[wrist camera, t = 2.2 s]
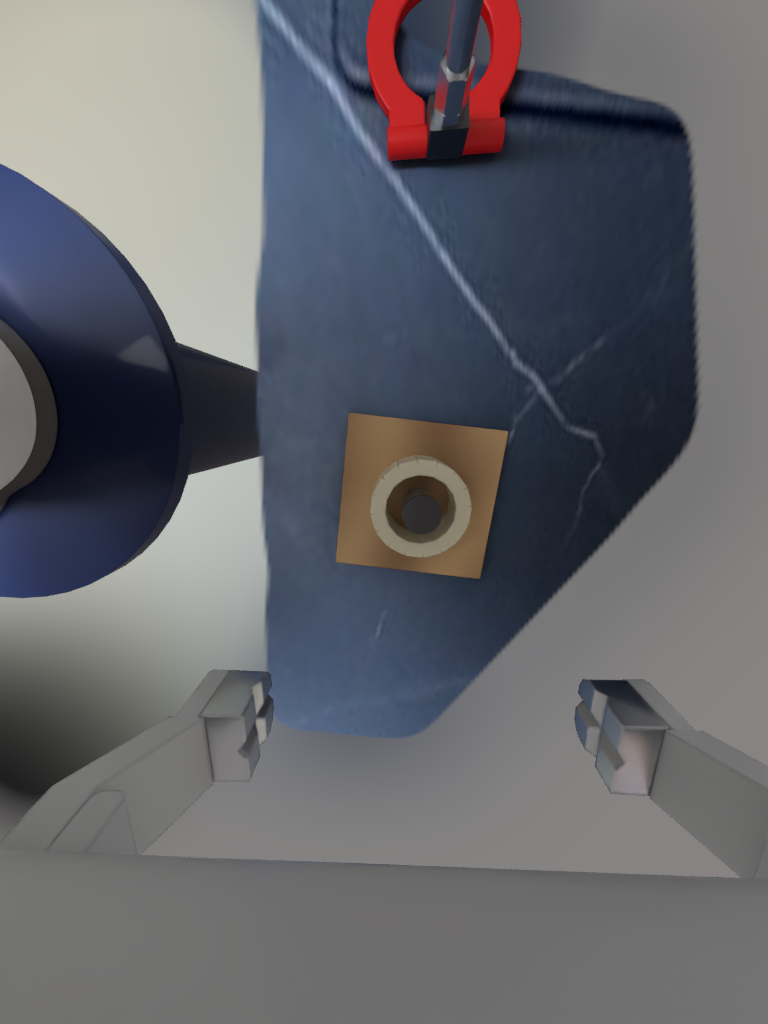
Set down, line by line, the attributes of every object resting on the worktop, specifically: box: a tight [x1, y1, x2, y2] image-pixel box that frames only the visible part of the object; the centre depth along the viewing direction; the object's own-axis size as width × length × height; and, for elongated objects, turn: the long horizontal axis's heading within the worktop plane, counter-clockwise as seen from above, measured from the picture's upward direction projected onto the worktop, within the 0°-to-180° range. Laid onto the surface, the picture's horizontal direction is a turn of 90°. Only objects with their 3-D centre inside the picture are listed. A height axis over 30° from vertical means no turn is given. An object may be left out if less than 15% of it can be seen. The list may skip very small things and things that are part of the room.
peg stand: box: [336, 413, 508, 579], centre depth 24 cm, size 11×11×5 cm
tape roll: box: [370, 455, 472, 558], centre depth 24 cm, size 6×6×3 cm
